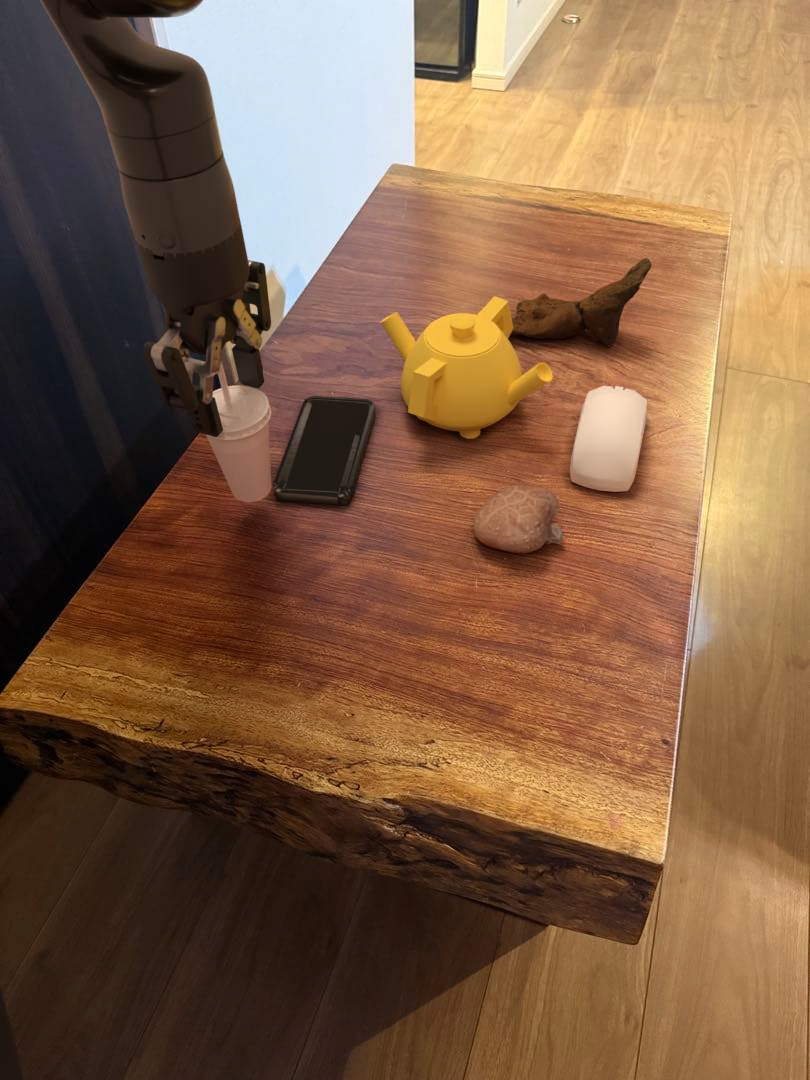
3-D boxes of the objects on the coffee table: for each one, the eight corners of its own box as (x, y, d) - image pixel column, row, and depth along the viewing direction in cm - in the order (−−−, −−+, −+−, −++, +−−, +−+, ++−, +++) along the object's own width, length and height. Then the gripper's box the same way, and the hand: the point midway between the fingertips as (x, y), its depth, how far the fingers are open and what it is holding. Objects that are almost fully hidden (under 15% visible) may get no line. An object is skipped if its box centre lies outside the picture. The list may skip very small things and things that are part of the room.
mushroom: (577, 514, 80) (504, 472, 81) (586, 500, 74) (508, 454, 75) (537, 582, 79) (463, 538, 80) (542, 573, 73) (463, 526, 74)
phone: (270, 491, 82) (305, 394, 91) (272, 499, 83) (307, 403, 92) (349, 498, 81) (377, 399, 90) (350, 506, 81) (377, 407, 91)
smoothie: (262, 455, 82) (234, 333, 72) (299, 490, 79) (276, 366, 68) (205, 486, 79) (168, 364, 69) (240, 523, 76) (208, 400, 66)
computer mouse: (645, 415, 89) (656, 367, 84) (631, 500, 81) (642, 451, 76) (584, 406, 90) (591, 358, 86) (564, 488, 82) (570, 440, 77)
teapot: (582, 394, 92) (595, 305, 83) (500, 493, 82) (505, 403, 74) (429, 339, 100) (427, 252, 91) (338, 423, 90) (326, 335, 82)
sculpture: (640, 269, 87) (506, 244, 92) (619, 365, 93) (494, 336, 98) (658, 255, 93) (531, 232, 99) (637, 346, 99) (518, 319, 104)
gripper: (197, 171, 65) (237, 352, 77) (79, 263, 56) (146, 450, 69) (281, 185, 63) (309, 369, 75) (173, 283, 54) (225, 473, 66)
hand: (231, 407), depth 72 cm, fingers closed on smoothie, 6 cm apart
